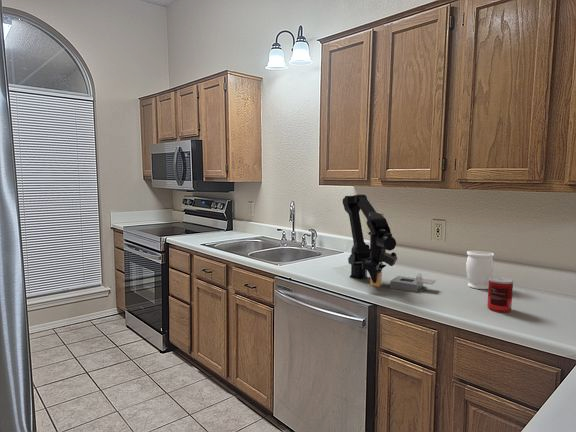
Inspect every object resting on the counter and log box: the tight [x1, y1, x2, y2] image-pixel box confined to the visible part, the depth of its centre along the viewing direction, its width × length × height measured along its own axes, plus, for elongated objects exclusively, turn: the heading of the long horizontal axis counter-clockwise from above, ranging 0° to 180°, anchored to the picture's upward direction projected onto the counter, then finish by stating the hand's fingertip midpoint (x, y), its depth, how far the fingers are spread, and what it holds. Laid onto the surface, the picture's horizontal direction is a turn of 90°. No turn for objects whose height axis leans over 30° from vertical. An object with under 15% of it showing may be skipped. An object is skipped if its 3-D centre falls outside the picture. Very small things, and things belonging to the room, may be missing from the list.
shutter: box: [415, 273, 436, 286], centre depth 168 cm, size 6×6×3 cm
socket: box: [389, 275, 424, 293], centre depth 172 cm, size 11×11×3 cm
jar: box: [465, 250, 495, 290], centre depth 173 cm, size 11×10×15 cm
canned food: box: [486, 276, 514, 314], centre depth 144 cm, size 8×8×11 cm
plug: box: [369, 271, 383, 288], centre depth 174 cm, size 4×3×8 cm
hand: (375, 282), depth 175 cm, fingers closed on plug, 3 cm apart
